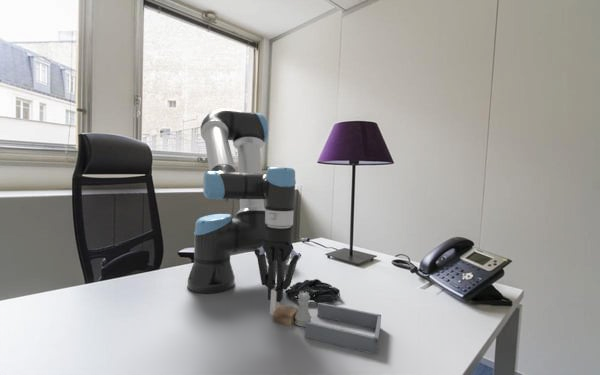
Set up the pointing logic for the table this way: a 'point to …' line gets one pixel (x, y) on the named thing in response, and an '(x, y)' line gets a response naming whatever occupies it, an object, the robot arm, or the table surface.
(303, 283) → the cable
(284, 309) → the walnut tile
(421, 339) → the table surface
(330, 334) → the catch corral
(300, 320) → the rook chess piece
